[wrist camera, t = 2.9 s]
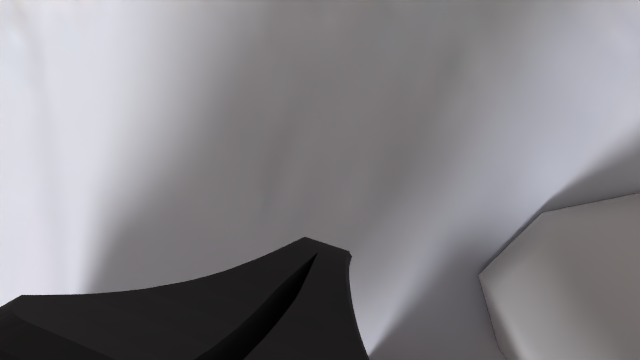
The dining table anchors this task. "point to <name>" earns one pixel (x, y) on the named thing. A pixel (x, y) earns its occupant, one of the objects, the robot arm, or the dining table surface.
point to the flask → (570, 285)
